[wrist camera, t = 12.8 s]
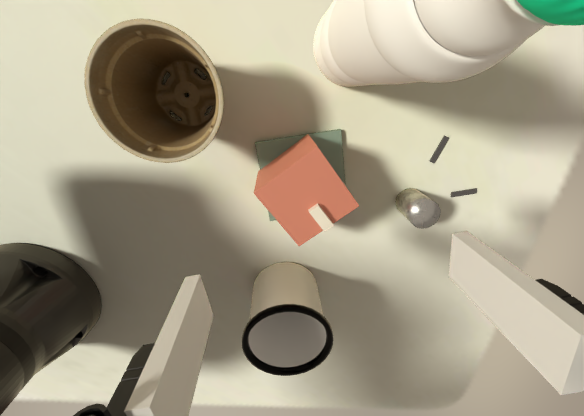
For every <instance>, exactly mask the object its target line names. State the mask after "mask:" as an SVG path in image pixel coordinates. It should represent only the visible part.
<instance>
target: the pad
mask: <svg viewBox="0 0 584 416" xmlns="http://www.w3.org/2000/svg"><path fill="white" fill-rule="evenodd" d="M306 135H307V134H305V135H299V136H292V137H286V138H280V139H273V140H267V141H260V142H255V145H256V150H257V156H258V161H259V166H260V170H261V169H262V168H264V167H265V166H266V165H268V164H269V163H270V162H271V161H273V160H274V159H275V158H277V157H278V156H279V155H281V154H282V153H283V152H285V151H286V150H287V149H289V148H290V147H291V146H293V145H294V144H295V143H297V142H298V141H299V140H301V139H302V138H303V137H304V136H306ZM309 136H310V137H311V138H312V140H313V141H314V142H315V144H316V145H317V146H318V148H319V149H320V151H321V152H322V154H323V155H324V156H325V158H326V159H327V161H328V162H329V164H330V165H331V166H332V168H333V169H334V171H335V172H336V173H337V175H338V176H339V178H340V179H341V181H342V182H343V183H344V185H345V175H344V162H343V149H342V136H341V129H337V130H331V131H324V132H318V133H312V134H309ZM268 212H269V210H268ZM269 218H270V221H273V220H276V219H275V217H274V216H273V215H272V214H271V213H270V212H269Z"/></svg>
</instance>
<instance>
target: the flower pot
mask: <svg viewBox="0 0 584 416" xmlns="http://www.w3.org/2000/svg"><path fill="white" fill-rule="evenodd" d="M195 69H200V70H201V71H202V72H203V74H205V75H206V77H207V78H205V79H202V78H201V77H200V76H199V75H198V74H196V73H195V72H194V71H195ZM166 72H169V73H170V77H169V78H168V79H167V81H166V83H165V84H162V82H163V78H164V75H165V73H166ZM85 89H86V95H87V100H88V103H89V106H90V108H91V111H92V113H93V115H94V117H95V118H96V120H97V122H98V124H99V126H100V127H101V128H102V129H103V130H104V132H105V133H106V134H107V135H108V136H109V137H110V138H111V139H112V140H113V141H114V142H115V143H117V144H118V145H119V146H120V147H122V148H123V149H124V150H127V151H128V152H130V153H132V154H134V155H136V156H138V157H140V158H143V159H146V160H150V161H155V162H164V163H170V162H178V161H183V160H186V159H189V158H191V157H193V156H195V155H197V154H198V153H200V152H201V151H203V150H204V149H205V148H206V147H207V146H208V145H209V144H210V143H211V141H212V140H213V139H214V137H215V135H216V134H217V132H218V129H219V127H220V124H221V121H222V117H223V110H224V97H223V90H222V85H221V82H220V79H219V76H218V73H217V71H216V69H215V67H214V65H213V63H212V61H211V60H210V58H209V57H208V55H207V54H206V53H205V51H204V50H203V49H202V48H201V47H200V46H199V45H198V44H197V43H196V42H195V41H194V40H193V39H192V38H191V37H190V36H188V35H187V34H185V33H184V32H183V31H181V30H179V29H178V28H176V27H174V26H172V25H169V24H167V23H163V22H160V21H156V20H151V19H132V20H127V21H123V22H121V23H118V24H116V25H114V26H113V27H110V28H109V29H108V30H106V31H105V32H104V33H103V34H102V35H101V37H100V38H98V39H97V41H96V43H95V44H94V45H93V47H92V49H91V51H90V54H89V56H88V59H87V63H86V67H85ZM185 93H189V97H185ZM210 106H212V109H211V111H210V112H209V114H208V115H205V113H206V111H207V109H208V108H209V107H210ZM170 111H172V112H173V113H174V114H176V115H177V116H179V117H181V121H180V120H176V119H175V118H174V117H172V116H171V114H170Z"/></svg>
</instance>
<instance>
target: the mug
mask: <svg viewBox="0 0 584 416" xmlns="http://www.w3.org/2000/svg"><path fill="white" fill-rule="evenodd" d="M332 345H333V334H332V329H331V326H330V324H329V322H328V321H327V319H326V318H325V317H324V316H323V311H322V307H321V302H320V297H319V292H318V287H317V283H316V280H315V277H314V276H313V274H312V273H311V272H310V271H309V270H308V269H307V268H305V267H303V266H302V265H299V264H296V263H291V262H282V263H276V264H273V265H270V266H268V267H267V268H265V269H264V270H263V271H261V272H260V273H259V275H258V276H257V277H256V279H255V281H254V285H253V293H252V302H251V311H250V320H249V322H248V323H247V325H246V327H245V329H244V331H243V335H242V349H243V352H244V355H245V356H246V358H247V360H248V361H249V362H250V363H251V364H252V365H254V366H255V367H256V368H258V369H260V370H262V371H264V372H266V373H270V374H273V375H281V376H290V375H297V374H301V373H304V372H307V371H309V370H311V369H314V368H315V367H317V366H318V365H320V364H321V363H322V362H323V361H324V360H325V359H326V358H327V356H328V355H329V353H330V351H331V349H332Z"/></svg>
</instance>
